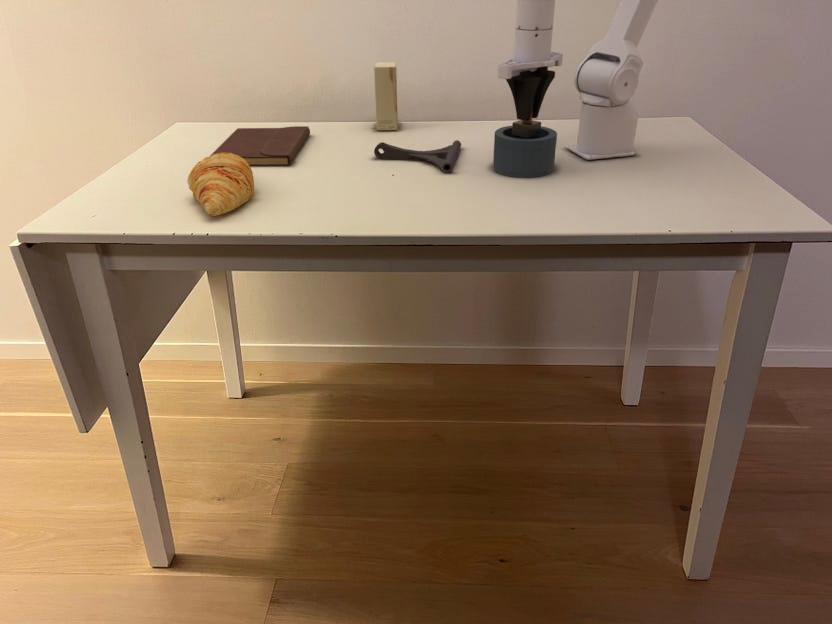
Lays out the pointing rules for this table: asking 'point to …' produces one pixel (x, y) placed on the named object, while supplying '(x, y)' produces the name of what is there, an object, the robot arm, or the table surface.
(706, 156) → the table surface
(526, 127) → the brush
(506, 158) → the jar
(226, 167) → the croissant
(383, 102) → the cosmetic box
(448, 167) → the bracket
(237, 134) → the notebook
